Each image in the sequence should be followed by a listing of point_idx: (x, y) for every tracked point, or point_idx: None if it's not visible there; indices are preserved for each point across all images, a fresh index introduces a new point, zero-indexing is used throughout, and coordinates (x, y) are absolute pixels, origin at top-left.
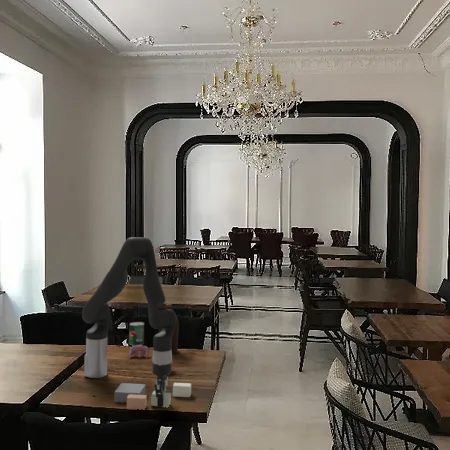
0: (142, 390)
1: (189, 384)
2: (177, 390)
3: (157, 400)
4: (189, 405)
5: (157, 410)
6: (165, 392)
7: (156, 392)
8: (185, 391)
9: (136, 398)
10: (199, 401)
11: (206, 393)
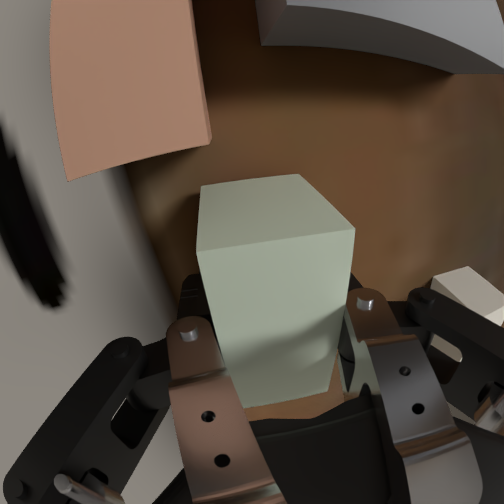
0: (426, 39)
1: None
2: None
3: (198, 290)
4: (298, 399)
5: (150, 271)
6: (332, 358)
7: (66, 412)
8: None
9: (50, 60)
10: None
11: None
